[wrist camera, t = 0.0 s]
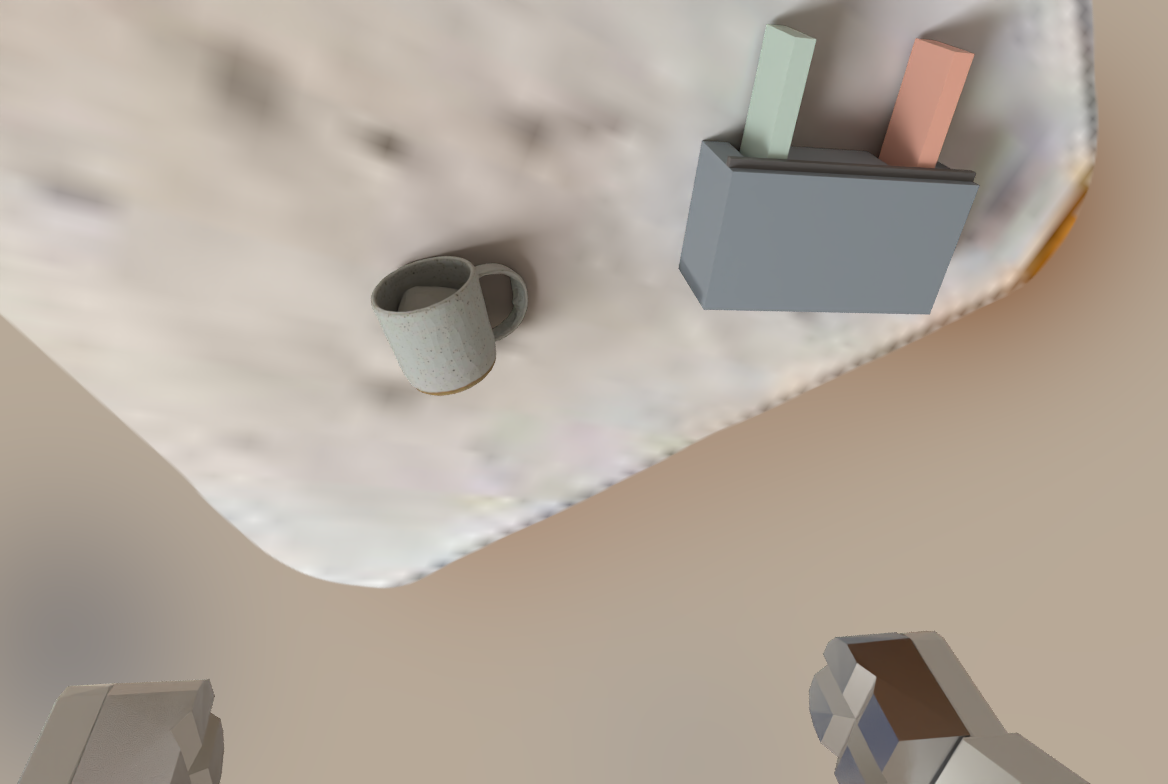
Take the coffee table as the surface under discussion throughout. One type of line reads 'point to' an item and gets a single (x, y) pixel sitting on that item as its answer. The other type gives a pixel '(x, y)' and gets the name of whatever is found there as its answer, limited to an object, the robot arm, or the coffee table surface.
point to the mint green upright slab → (777, 92)
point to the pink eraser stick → (925, 104)
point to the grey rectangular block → (821, 231)
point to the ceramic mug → (443, 321)
